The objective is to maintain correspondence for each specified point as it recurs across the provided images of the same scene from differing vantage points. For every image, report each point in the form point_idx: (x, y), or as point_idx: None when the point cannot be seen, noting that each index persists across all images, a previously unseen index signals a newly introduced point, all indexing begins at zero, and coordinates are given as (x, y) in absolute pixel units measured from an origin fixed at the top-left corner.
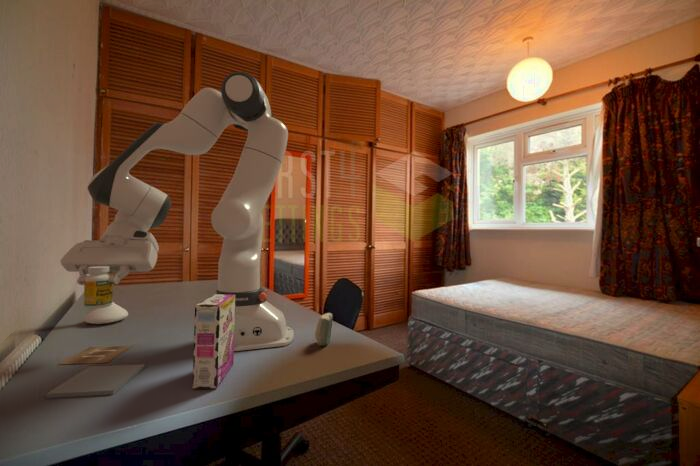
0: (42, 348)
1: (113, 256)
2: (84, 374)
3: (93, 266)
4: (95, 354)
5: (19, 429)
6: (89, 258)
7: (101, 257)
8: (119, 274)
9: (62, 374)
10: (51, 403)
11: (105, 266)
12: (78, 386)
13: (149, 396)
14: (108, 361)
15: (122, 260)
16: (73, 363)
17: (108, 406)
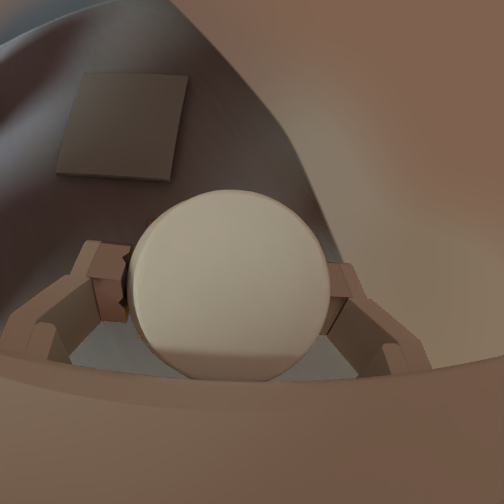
0: None
1: (141, 489)
2: (159, 139)
3: (312, 327)
4: None
5: (175, 20)
6: (429, 427)
7: (313, 468)
8: (57, 282)
9: (218, 172)
10: (170, 65)
11: (176, 316)
12: (146, 91)
13: (37, 71)
14: (147, 224)
15: (7, 386)
16: None
17: (85, 50)
